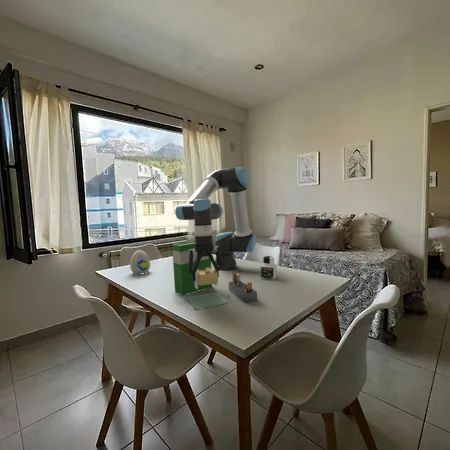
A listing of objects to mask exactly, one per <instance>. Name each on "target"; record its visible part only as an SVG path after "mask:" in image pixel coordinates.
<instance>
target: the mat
mask: <svg viewBox="0 0 450 450" xmlns="http://www.w3.org/2000/svg"><path fill="white" fill-rule="evenodd" d="M187 299H189V300H188V301H189V303H190V302H191V303H190V304H191V305H193V306H194V307H193V306H192V307H193V309H194V308H195V309H198V310H201V309H200V308H203V309H206V308H205V307H208V308H212V307H211V306H213V307H217V306H216V305H218V306H222V304H223V305H227V304H228V302H227V301H226V300H225V299H224V298H223V297H222V296H221V295H219V294H218V292H212V293H205V294H201V295H199V294H198V295H195V296H189V297H187ZM195 309H194V310H195Z"/></svg>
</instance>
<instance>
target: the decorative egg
mask: <svg viewBox="0 0 450 450" xmlns="http://www.w3.org/2000/svg"><path fill="white" fill-rule="evenodd" d="M129 267H130V268H129V269H130V270H131V273H132V274H134V273H135V274H141V273H146V272H147V273H148V272H149V270H150V269H151V268H150V267H151V260H150V258H149V255H148V254H147V253H146V252H145V251H143V250H142V249H141V250H140V249H138V250H136V251H135V252H133V254H132V256H131V258H130V261H129ZM147 273H146V274H147ZM135 274H134V275H135ZM141 275H142V274H141Z"/></svg>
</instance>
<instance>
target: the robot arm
mask: <svg viewBox="0 0 450 450" xmlns="http://www.w3.org/2000/svg"><path fill="white" fill-rule="evenodd" d="M250 180H251V179H250V175H249V173H248V170H247V168H246V167H244V166H235V167H226V168H218V169H216V170H214V171H213V172H211V173H209V174H208V175H207V176H206V177H205V178H204V179H203V182H202V184H201V185H200V187H198V189H197V190H196V191H195V192H194V193H193V194H192V195H191V197H190V198H189V199H188V200H187V201H186V202H185V204H182V203H181V204H177V206H176V207H175V212H174V213H175V216H176V217H175V218H176V219H178V220H179V221H180V220H181V221H194V236H195V237H194V241H195V248H194V249H189V250H188V251H189V261H188V270H187V271H188V272H189V273H192V280H193V281H195V288H196V289H198V275H197V273H196V271H197V268H198V265H199V262H200V260H201V258H202V257H204V256H208V257H209V258H210V260H211V265H212V267H214V268H213V269H214V270H215V271H216V272H218V278H219V277H220V275H219V274H220V273H219V272H220V271H228V270H234V269H236V268H237V267H238V266H237V265H238V264H237V261H236V258H235V255H234V253H245V254H246V253H253V252H254V250H255V248H256V244H257V242H256V241H257V235H256V234H253V230H252V229H251V228H250V223H249V213H248V207H247V198H246V192H247V191H248V187H250ZM221 189H226V190H227V193H228V194H230V197H231V205H232V212H233V213H232V214H233V220H234V226H235V231H234V232H233V231H227V232H226V231H225V232H221V233H218V234H216V235H215V246H214V244H213V240H214V239H213V235H212V234H213V223H212V222H213V221H212V220H218V219H220V218H221V217H222V216H223V213H224V211H223V209H224V208H223V207H222V206H221V204H220V203H216V202H213V203H212V201H211V199H210V197H211V196H212V195H213V193H216V192H218V190H221ZM195 251H196V252H197V257H196V260H195V263H194V266H193V269H192V263H193V254H194V252H195ZM213 251H214V254H215V258H214V256H213V253H212V252H213ZM213 285H214V286H216V287H217V286H218V283H214V284H213Z"/></svg>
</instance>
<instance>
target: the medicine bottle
mask: <svg viewBox="0 0 450 450" xmlns="http://www.w3.org/2000/svg"><path fill="white" fill-rule="evenodd" d="M262 259H263V260H262V261H263V265H261V266H260V276H261V277H260V278H261V280H262V279H263V280H270V281H273V280H274V281H275V279H276V278H277V277H278V264H276V263H275V257H274V256H272V255H266V256H265V255H264V257H263V258H262Z"/></svg>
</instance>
